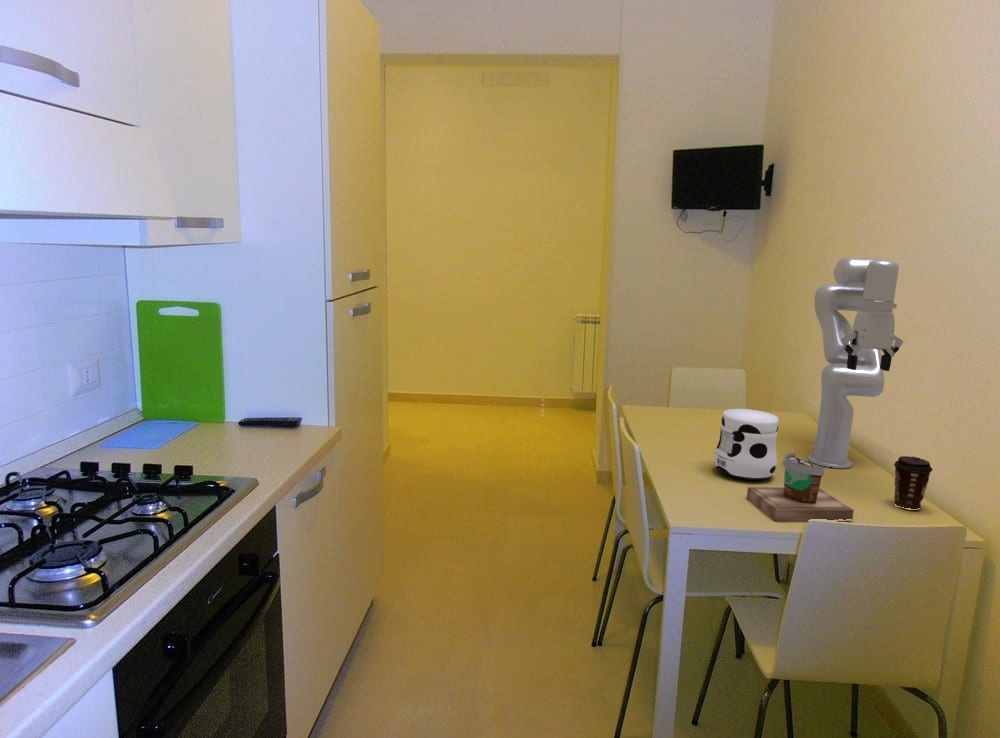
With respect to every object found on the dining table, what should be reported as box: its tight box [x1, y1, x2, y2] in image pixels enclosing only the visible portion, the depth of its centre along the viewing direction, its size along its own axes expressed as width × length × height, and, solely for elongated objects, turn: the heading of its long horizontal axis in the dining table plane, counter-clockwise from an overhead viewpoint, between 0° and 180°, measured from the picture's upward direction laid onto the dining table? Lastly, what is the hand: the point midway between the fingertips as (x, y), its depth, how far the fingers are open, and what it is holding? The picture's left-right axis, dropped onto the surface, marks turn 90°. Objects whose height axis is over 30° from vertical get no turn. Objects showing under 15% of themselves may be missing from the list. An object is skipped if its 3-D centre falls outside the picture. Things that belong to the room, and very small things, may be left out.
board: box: [746, 486, 855, 523], centre depth 187 cm, size 16×20×3 cm
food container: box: [781, 452, 825, 504], centre depth 185 cm, size 12×6×10 cm, turn 13°
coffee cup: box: [893, 455, 933, 509], centre depth 192 cm, size 9×8×13 cm
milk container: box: [714, 408, 779, 481], centre depth 211 cm, size 17×17×18 cm
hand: (867, 369), depth 198 cm, fingers open, 9 cm apart
